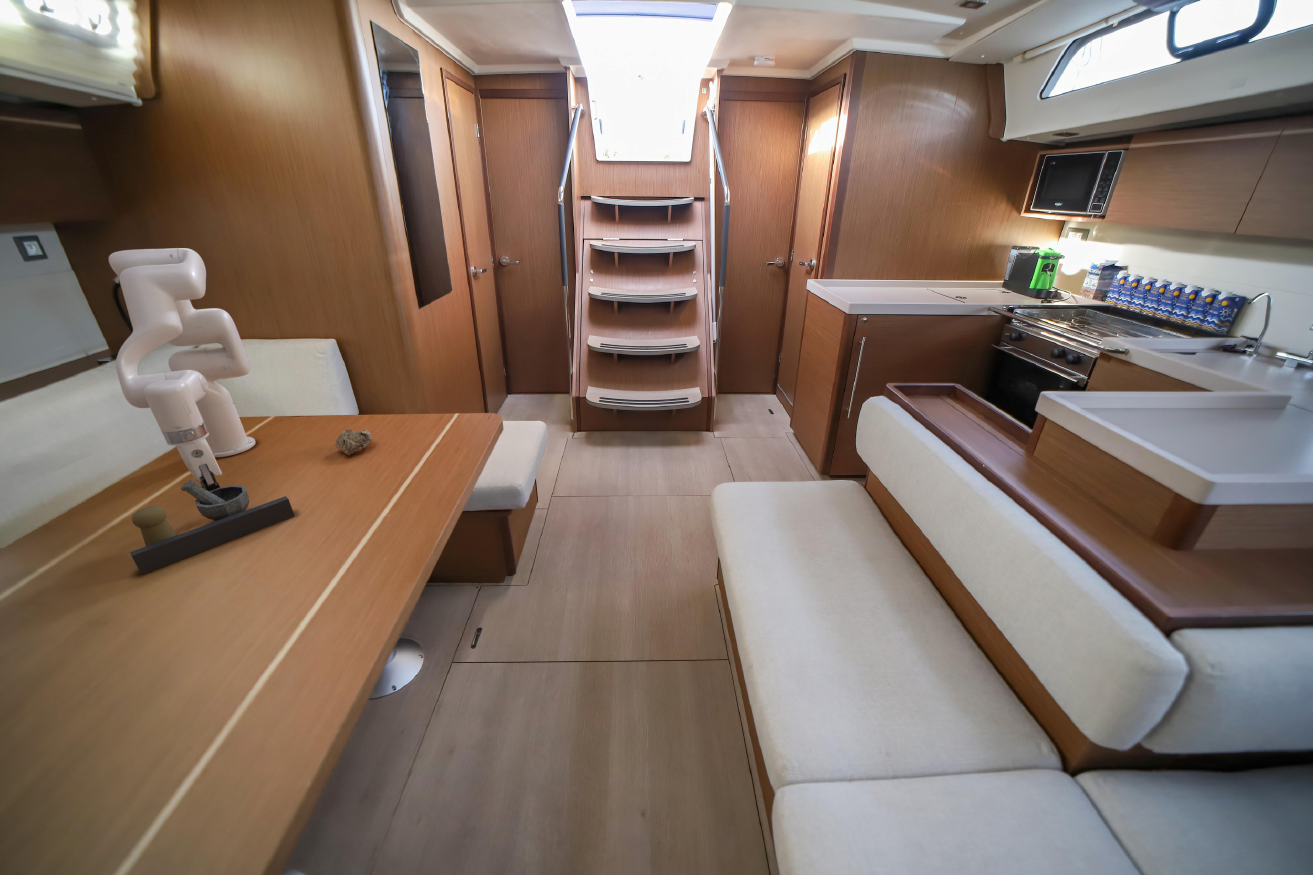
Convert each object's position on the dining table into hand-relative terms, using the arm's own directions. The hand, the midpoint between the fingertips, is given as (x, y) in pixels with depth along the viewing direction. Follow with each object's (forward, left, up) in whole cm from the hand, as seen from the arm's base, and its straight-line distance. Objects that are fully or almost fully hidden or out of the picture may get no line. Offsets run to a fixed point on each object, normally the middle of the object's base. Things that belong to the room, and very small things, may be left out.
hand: (215, 498), depth 124 cm
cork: (+11, -12, -3) cm, 17 cm away
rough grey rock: (-9, +36, -4) cm, 37 cm away
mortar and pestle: (+7, 0, -4) cm, 8 cm away
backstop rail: (+16, -3, -3) cm, 17 cm away
